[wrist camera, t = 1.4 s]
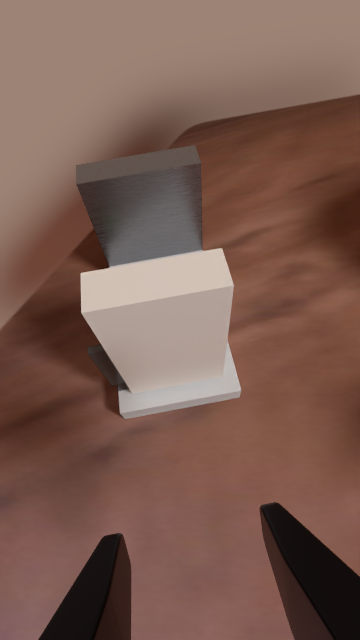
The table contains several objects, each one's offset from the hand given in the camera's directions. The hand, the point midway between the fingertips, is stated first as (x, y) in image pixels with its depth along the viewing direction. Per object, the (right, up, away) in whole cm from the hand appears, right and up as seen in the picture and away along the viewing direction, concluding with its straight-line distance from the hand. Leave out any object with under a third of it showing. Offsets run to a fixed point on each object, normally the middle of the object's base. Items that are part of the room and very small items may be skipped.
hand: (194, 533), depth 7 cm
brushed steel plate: (-2, +11, +21) cm, 23 cm away
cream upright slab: (-1, +2, +15) cm, 15 cm away
